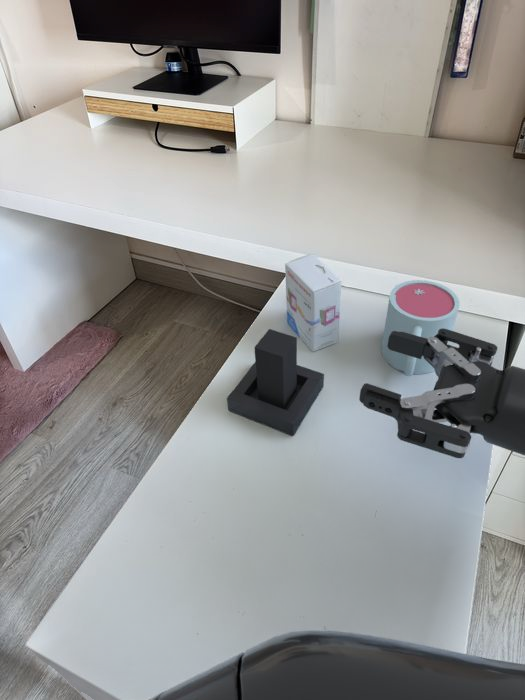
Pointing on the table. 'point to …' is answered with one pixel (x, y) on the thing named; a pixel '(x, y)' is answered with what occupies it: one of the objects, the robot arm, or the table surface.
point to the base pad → (277, 418)
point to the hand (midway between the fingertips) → (375, 364)
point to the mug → (418, 319)
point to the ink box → (313, 301)
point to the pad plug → (276, 368)
